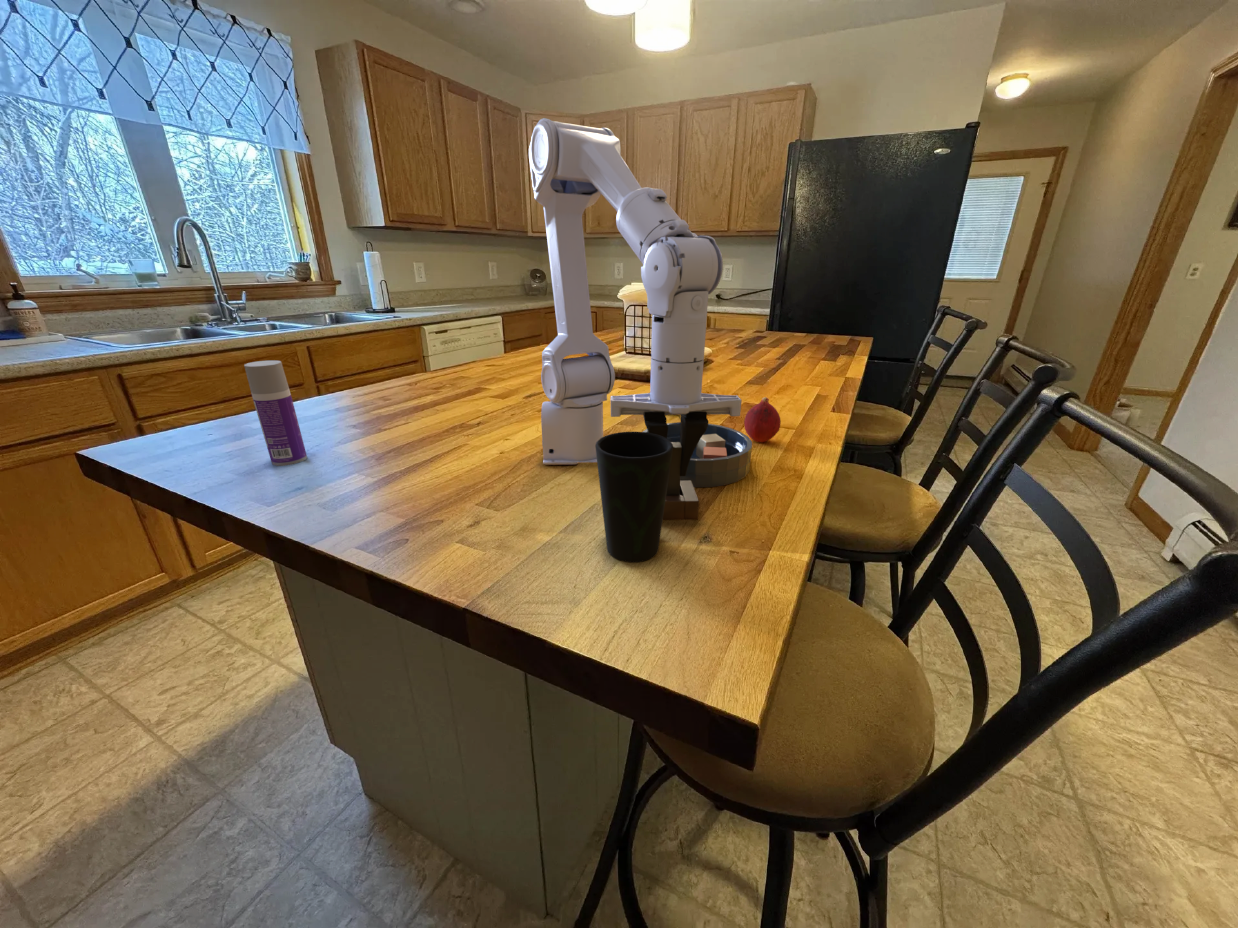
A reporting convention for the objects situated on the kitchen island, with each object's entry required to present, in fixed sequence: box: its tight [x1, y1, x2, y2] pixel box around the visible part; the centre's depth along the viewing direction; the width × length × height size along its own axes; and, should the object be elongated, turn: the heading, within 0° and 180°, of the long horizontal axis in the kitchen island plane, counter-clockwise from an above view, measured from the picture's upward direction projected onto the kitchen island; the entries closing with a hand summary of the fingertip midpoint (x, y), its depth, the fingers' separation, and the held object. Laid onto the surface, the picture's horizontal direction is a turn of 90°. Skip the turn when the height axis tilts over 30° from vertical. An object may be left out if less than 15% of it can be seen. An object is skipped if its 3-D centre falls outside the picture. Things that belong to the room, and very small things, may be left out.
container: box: [244, 359, 308, 467], centre depth 73 cm, size 5×5×15 cm
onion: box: [743, 396, 782, 444], centre depth 82 cm, size 6×6×8 cm
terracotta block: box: [703, 447, 727, 459], centre depth 70 cm, size 3×3×3 cm
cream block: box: [696, 434, 725, 459], centre depth 75 cm, size 3×3×3 cm
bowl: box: [642, 421, 753, 488], centre depth 73 cm, size 16×16×4 cm
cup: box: [595, 431, 673, 563], centre depth 51 cm, size 8×8×12 cm
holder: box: [663, 480, 700, 521], centre depth 60 cm, size 6×6×3 cm
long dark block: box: [666, 442, 682, 496], centre depth 59 cm, size 2×2×7 cm
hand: (671, 472), depth 59 cm, fingers closed on long dark block, 2 cm apart
